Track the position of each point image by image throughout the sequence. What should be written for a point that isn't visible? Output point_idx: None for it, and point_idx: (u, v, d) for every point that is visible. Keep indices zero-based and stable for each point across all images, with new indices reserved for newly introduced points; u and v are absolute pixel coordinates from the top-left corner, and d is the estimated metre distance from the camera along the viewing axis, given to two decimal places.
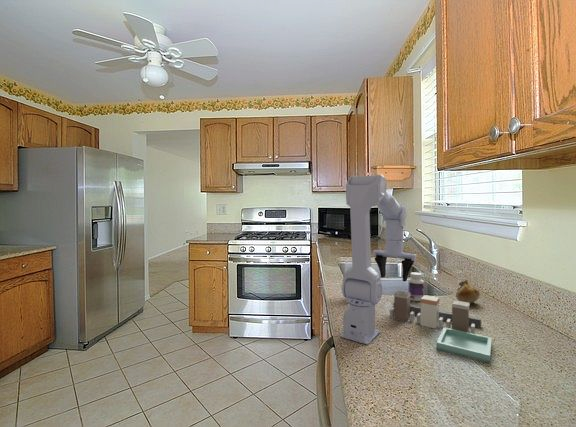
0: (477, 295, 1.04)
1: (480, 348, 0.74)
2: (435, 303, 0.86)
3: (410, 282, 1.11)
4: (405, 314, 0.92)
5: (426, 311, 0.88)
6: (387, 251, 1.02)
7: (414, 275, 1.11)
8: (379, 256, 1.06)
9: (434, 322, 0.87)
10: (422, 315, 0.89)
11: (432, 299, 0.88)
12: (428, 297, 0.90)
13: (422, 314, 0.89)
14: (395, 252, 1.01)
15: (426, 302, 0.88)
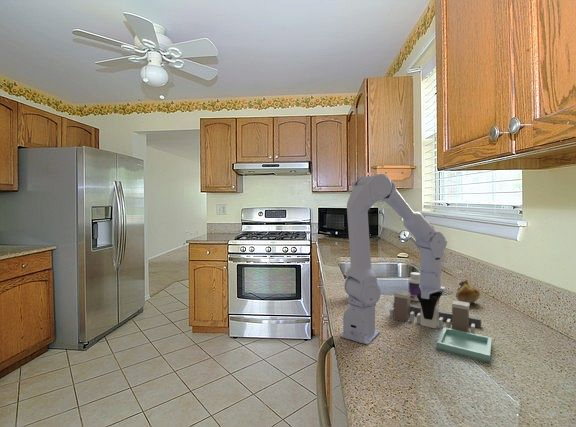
0: (477, 295, 1.04)
1: (480, 348, 0.74)
2: None
3: (410, 282, 1.11)
4: (405, 314, 0.92)
5: None
6: None
7: (414, 275, 1.11)
8: None
9: (434, 322, 0.87)
10: (422, 315, 0.89)
11: None
12: None
13: (422, 314, 0.89)
14: (420, 284, 0.89)
15: None
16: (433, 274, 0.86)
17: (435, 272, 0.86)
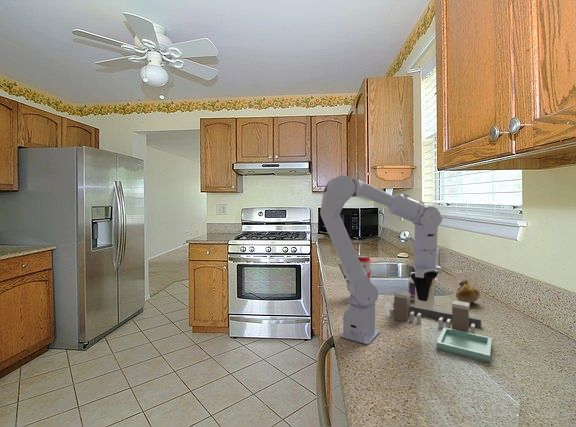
0: (477, 295, 1.04)
1: (480, 348, 0.74)
2: None
3: (410, 282, 1.11)
4: (405, 314, 0.92)
5: None
6: None
7: None
8: None
9: (429, 304, 0.81)
10: (416, 297, 0.83)
11: None
12: None
13: (416, 295, 0.83)
14: (414, 263, 0.83)
15: None
16: (428, 252, 0.80)
17: (427, 250, 0.80)
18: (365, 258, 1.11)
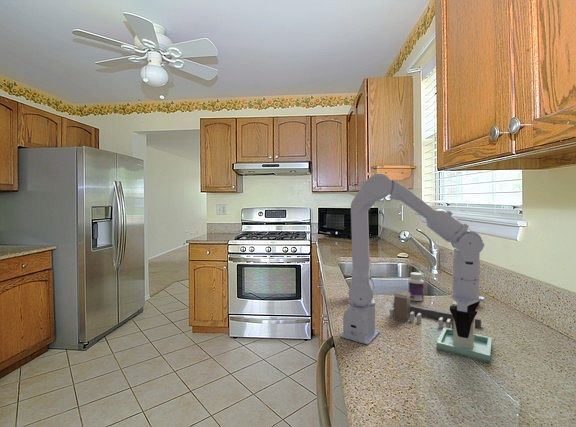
0: None
1: (480, 348, 0.74)
2: None
3: (410, 282, 1.11)
4: (405, 314, 0.92)
5: None
6: None
7: (414, 275, 1.11)
8: None
9: (470, 342, 0.73)
10: (455, 334, 0.75)
11: None
12: None
13: (455, 332, 0.75)
14: (453, 293, 0.75)
15: None
16: (470, 282, 0.72)
17: (465, 279, 0.72)
18: None
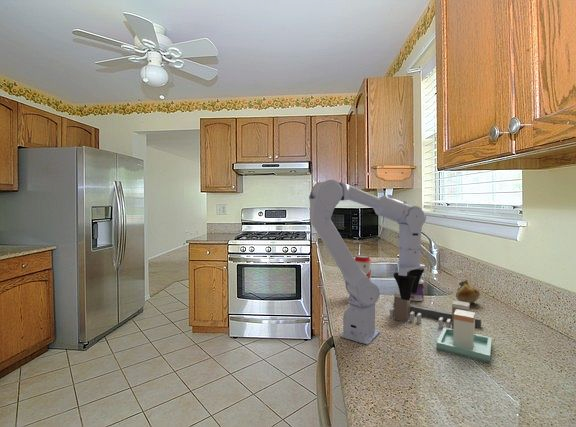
0: (477, 295, 1.04)
1: (480, 348, 0.74)
2: (472, 320, 0.73)
3: None
4: (405, 314, 0.92)
5: (461, 329, 0.74)
6: None
7: None
8: None
9: (470, 342, 0.73)
10: (455, 334, 0.75)
11: (467, 315, 0.74)
12: (462, 312, 0.76)
13: (455, 332, 0.75)
14: (399, 262, 0.85)
15: (460, 318, 0.74)
16: (412, 251, 0.82)
17: (412, 248, 0.82)
18: (365, 258, 1.11)
